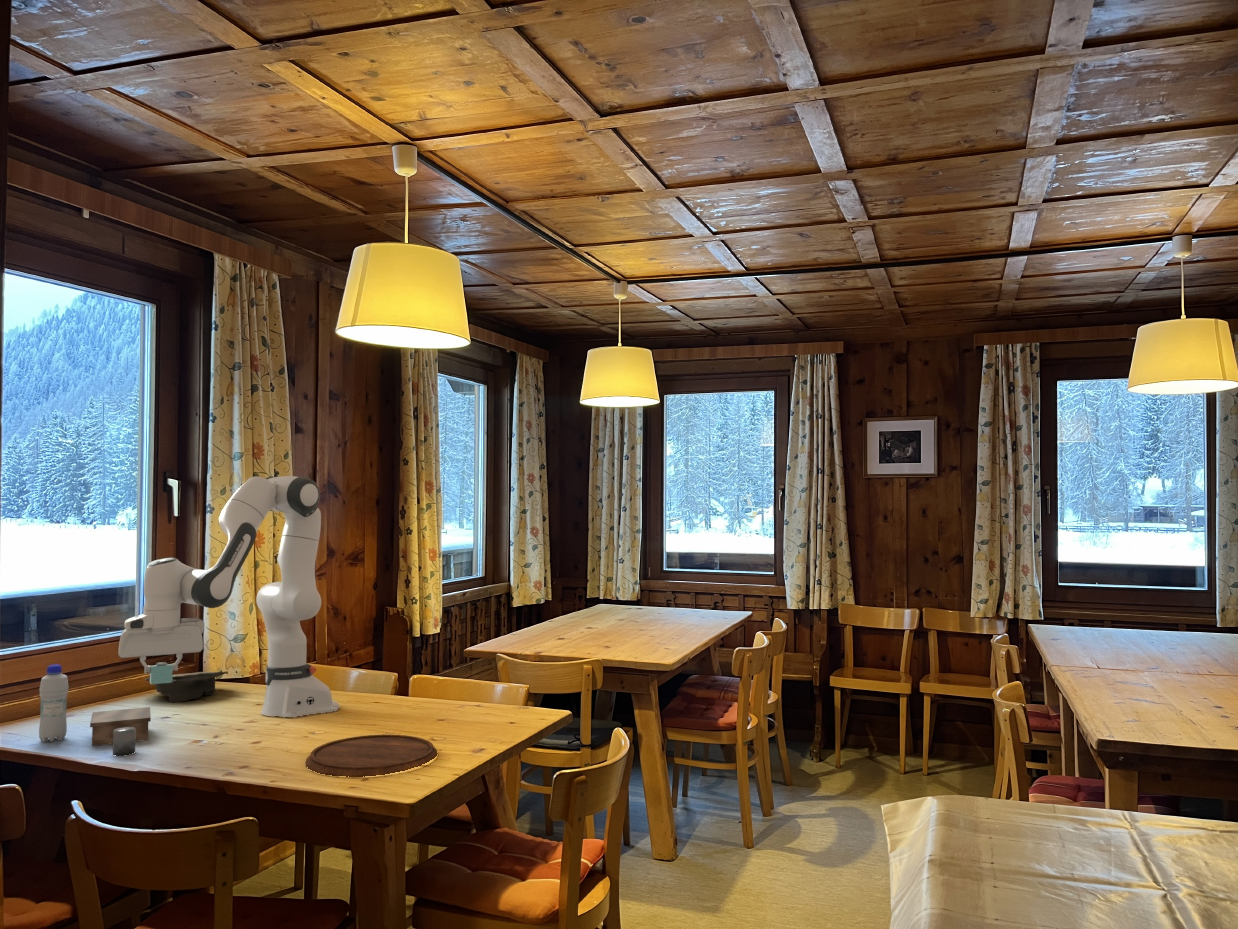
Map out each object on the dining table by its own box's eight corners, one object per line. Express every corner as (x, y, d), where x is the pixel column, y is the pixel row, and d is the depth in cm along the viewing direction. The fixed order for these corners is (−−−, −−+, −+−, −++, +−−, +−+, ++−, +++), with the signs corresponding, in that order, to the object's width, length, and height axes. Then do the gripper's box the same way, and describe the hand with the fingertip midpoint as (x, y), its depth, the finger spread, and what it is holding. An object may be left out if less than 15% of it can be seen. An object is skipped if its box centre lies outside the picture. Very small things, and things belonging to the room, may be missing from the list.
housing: (170, 681, 246) (170, 661, 247) (172, 682, 238) (172, 661, 239) (149, 682, 244) (150, 662, 245) (151, 684, 236) (151, 663, 237)
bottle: (36, 744, 238) (38, 667, 239) (39, 738, 244) (41, 663, 244) (66, 741, 241) (68, 665, 242) (68, 735, 247) (70, 661, 248)
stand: (149, 728, 255) (150, 707, 255) (150, 740, 242) (150, 717, 243) (91, 734, 248) (92, 712, 248) (89, 746, 236) (90, 723, 236)
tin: (135, 749, 233) (135, 726, 234) (135, 754, 229) (135, 730, 229) (112, 752, 231) (113, 728, 231) (112, 757, 227) (113, 733, 227)
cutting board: (408, 783, 208) (408, 772, 208) (279, 776, 213) (279, 765, 214) (455, 746, 240) (456, 736, 240) (342, 740, 245) (342, 731, 245)
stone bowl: (186, 706, 281) (184, 676, 281) (126, 706, 290) (125, 677, 290) (245, 690, 304) (243, 662, 305) (188, 690, 313) (187, 663, 313)
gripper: (203, 615, 250) (203, 666, 249) (119, 620, 240) (118, 673, 240) (205, 618, 244) (204, 670, 244) (118, 623, 235) (117, 677, 234)
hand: (161, 671), depth 242 cm, fingers closed on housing, 5 cm apart
